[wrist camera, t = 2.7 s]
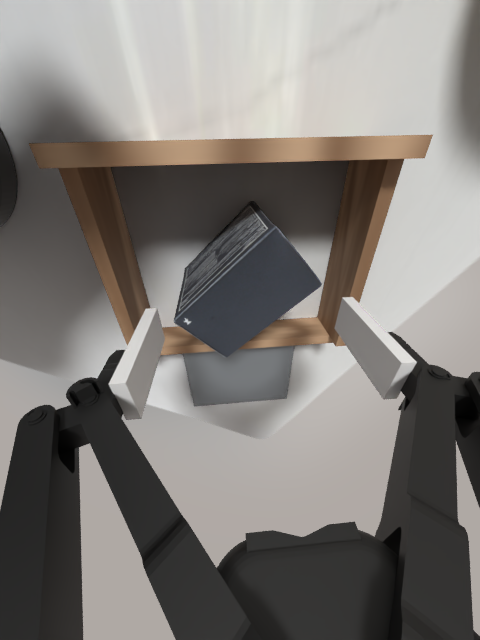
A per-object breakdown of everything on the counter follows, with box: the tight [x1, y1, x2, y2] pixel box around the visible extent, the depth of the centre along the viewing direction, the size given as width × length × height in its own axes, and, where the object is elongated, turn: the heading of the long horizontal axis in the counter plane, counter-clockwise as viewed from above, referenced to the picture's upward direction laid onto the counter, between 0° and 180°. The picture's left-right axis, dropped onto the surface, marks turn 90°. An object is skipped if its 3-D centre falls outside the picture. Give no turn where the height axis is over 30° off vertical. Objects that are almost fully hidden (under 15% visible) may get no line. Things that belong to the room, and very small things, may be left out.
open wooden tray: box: [29, 135, 433, 355], centre depth 23 cm, size 24×20×8 cm
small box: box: [174, 201, 322, 358], centre depth 22 cm, size 11×6×10 cm, turn 133°
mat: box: [183, 345, 294, 406], centre depth 37 cm, size 16×13×1 cm
